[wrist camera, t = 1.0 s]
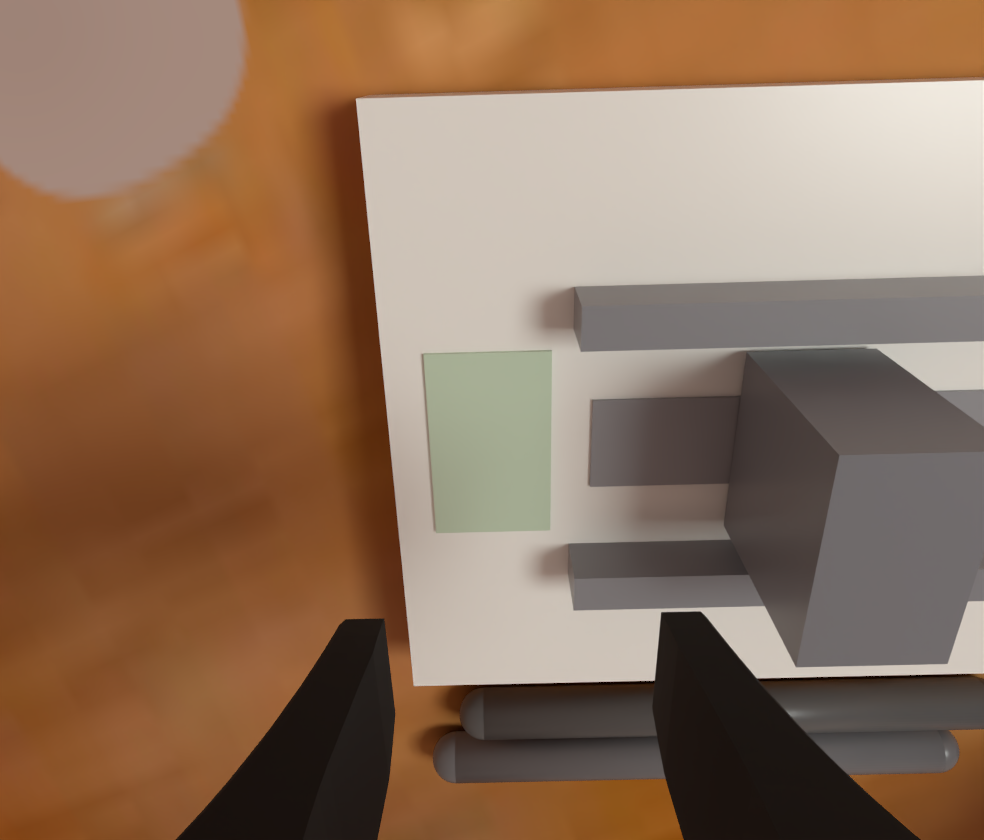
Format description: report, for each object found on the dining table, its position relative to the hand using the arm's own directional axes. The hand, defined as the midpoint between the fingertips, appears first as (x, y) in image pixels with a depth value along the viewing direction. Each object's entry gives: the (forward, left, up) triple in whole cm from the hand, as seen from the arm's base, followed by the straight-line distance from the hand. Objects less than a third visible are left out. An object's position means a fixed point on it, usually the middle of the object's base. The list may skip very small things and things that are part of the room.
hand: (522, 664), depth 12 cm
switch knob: (-7, 0, -7) cm, 10 cm away
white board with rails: (-7, +3, -9) cm, 12 cm away
